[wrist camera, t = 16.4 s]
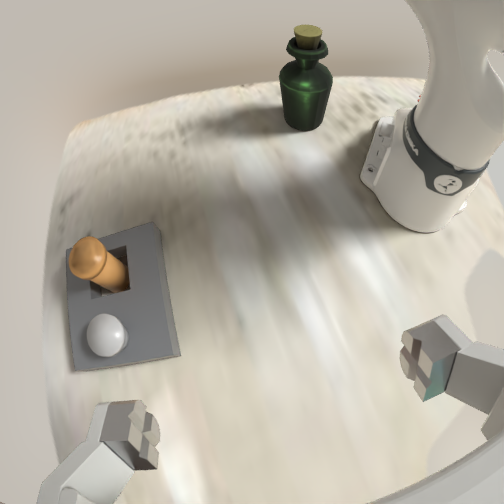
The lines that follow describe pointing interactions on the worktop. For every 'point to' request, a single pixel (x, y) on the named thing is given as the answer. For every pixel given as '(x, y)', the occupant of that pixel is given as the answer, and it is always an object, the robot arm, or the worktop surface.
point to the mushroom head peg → (98, 265)
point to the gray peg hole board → (124, 307)
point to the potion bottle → (305, 79)
